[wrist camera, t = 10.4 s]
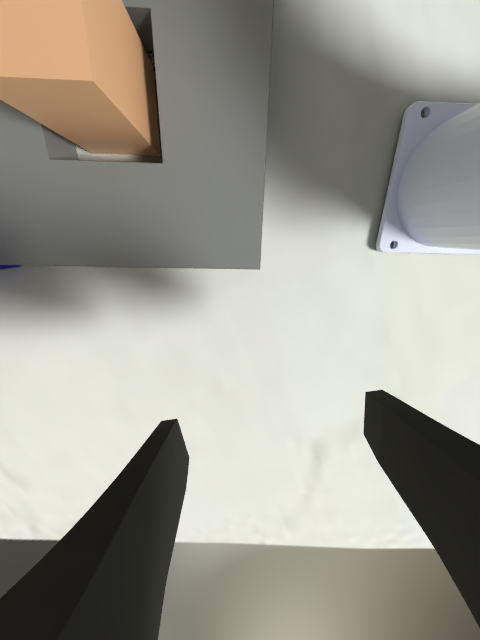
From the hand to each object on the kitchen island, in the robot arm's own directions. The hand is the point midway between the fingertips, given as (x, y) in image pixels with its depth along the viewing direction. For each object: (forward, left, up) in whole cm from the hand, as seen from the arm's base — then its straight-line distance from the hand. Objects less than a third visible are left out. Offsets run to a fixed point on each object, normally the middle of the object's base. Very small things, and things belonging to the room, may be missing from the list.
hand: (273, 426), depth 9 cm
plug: (+8, -13, -9) cm, 18 cm away
